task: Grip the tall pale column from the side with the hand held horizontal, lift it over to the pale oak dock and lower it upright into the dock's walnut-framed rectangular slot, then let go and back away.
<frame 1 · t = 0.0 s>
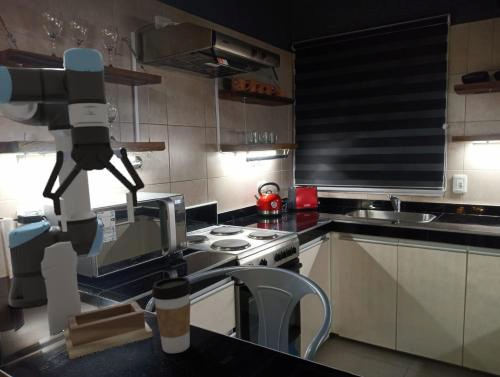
hand: (99, 226, 87), 28 cm above the countertop, tool pointing down, fingers open, 13 cm apart
tall pale column: (66, 327, 104), on the countertop
dock: (107, 336, 98), on the countertop
coffee cup: (176, 347, 90), on the countertop
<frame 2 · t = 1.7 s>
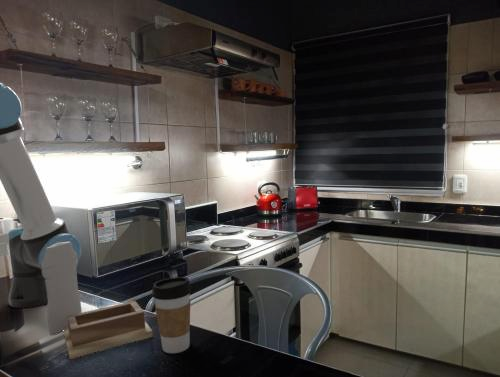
hand: (8, 243, 97), 24 cm above the countertop, tool horizontal, fingers open, 13 cm apart
nothing on the countertop moved.
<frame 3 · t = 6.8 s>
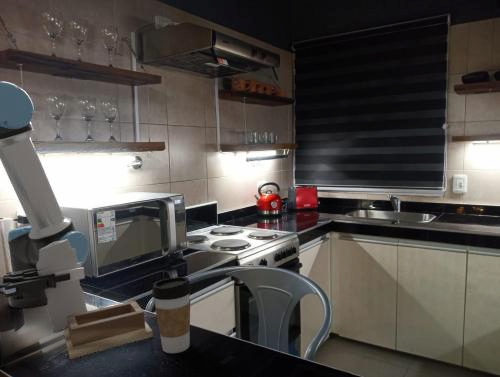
hand: (82, 270, 105), 14 cm above the countertop, tool horizontal, fingers open, 5 cm apart
tall pale column: (71, 323, 105), on the countertop
everything else where it was.
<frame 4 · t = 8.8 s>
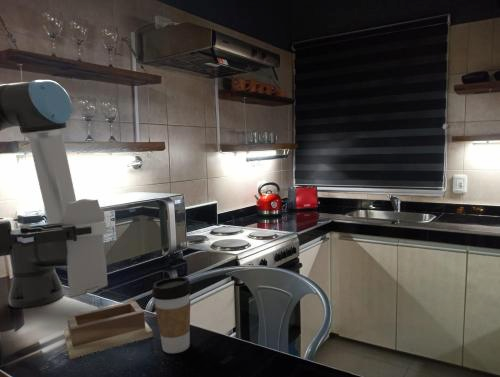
hand: (104, 225, 98), 26 cm above the countertop, tool horizontal
tall pale column: (89, 291, 97), point 11 cm above the countertop, touching gripper
everything else where it was.
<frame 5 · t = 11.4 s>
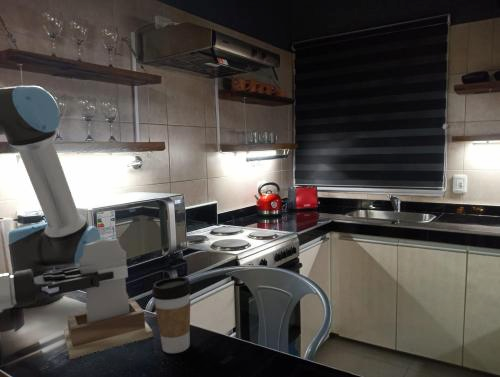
hand: (124, 268, 99), 16 cm above the countertop, tool horizontal, fingers open, 4 cm apart
tall pale column: (110, 330, 98), point 1 cm above the countertop, touching dock
everything else where it was.
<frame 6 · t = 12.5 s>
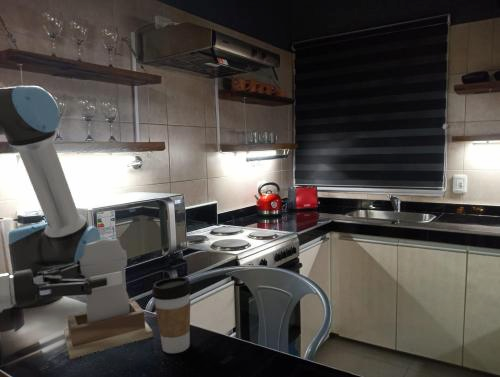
hand: (115, 270, 98), 16 cm above the countertop, tool horizontal, fingers open, 13 cm apart
nothing on the countertop moved.
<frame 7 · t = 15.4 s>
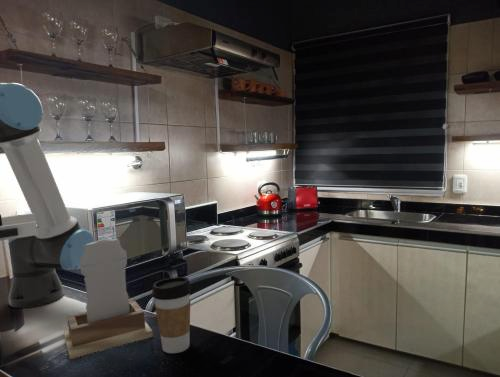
hand: (36, 223, 89), 29 cm above the countertop, tool horizontal, fingers open, 13 cm apart
nothing on the countertop moved.
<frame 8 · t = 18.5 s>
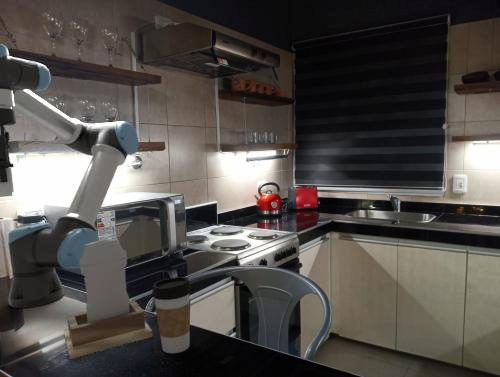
hand: (6, 194, 102), 35 cm above the countertop, tool pointing down, fingers open, 13 cm apart
nothing on the countertop moved.
at the end: tall pale column 0.8 cm off-centre on the dock, point 1.3 cm above the dock's base; tall pale column tilted 0°; the gripper is holding nothing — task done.
